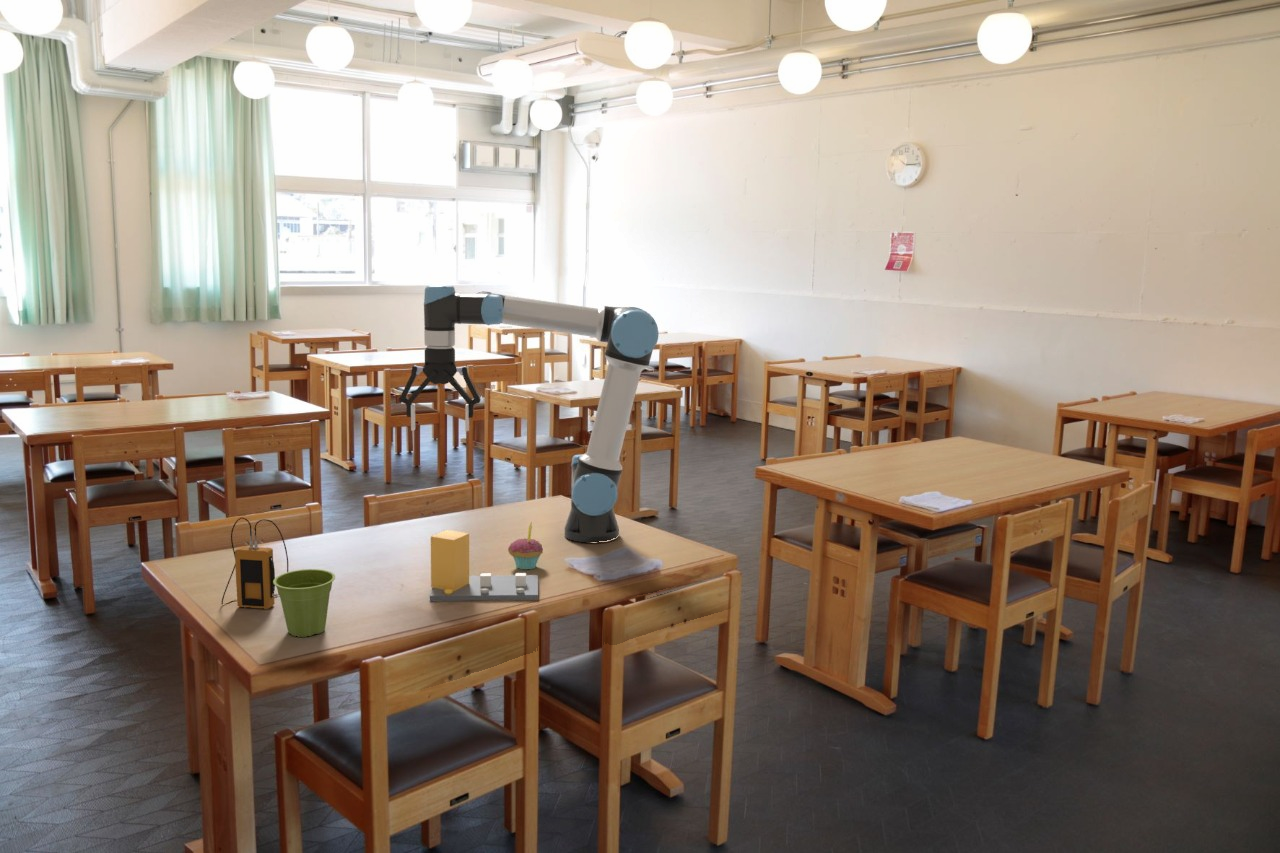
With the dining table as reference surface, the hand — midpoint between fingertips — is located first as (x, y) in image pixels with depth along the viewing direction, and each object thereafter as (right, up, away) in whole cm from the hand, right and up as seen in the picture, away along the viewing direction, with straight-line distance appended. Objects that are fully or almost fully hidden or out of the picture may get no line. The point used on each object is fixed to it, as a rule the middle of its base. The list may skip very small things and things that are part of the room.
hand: (440, 430), depth 253 cm
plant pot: (-17, -41, -52) cm, 68 cm away
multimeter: (-32, -38, -36) cm, 61 cm away
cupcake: (+23, -34, -7) cm, 42 cm away
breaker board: (+15, -37, -25) cm, 47 cm away
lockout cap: (+7, -36, -26) cm, 44 cm away
